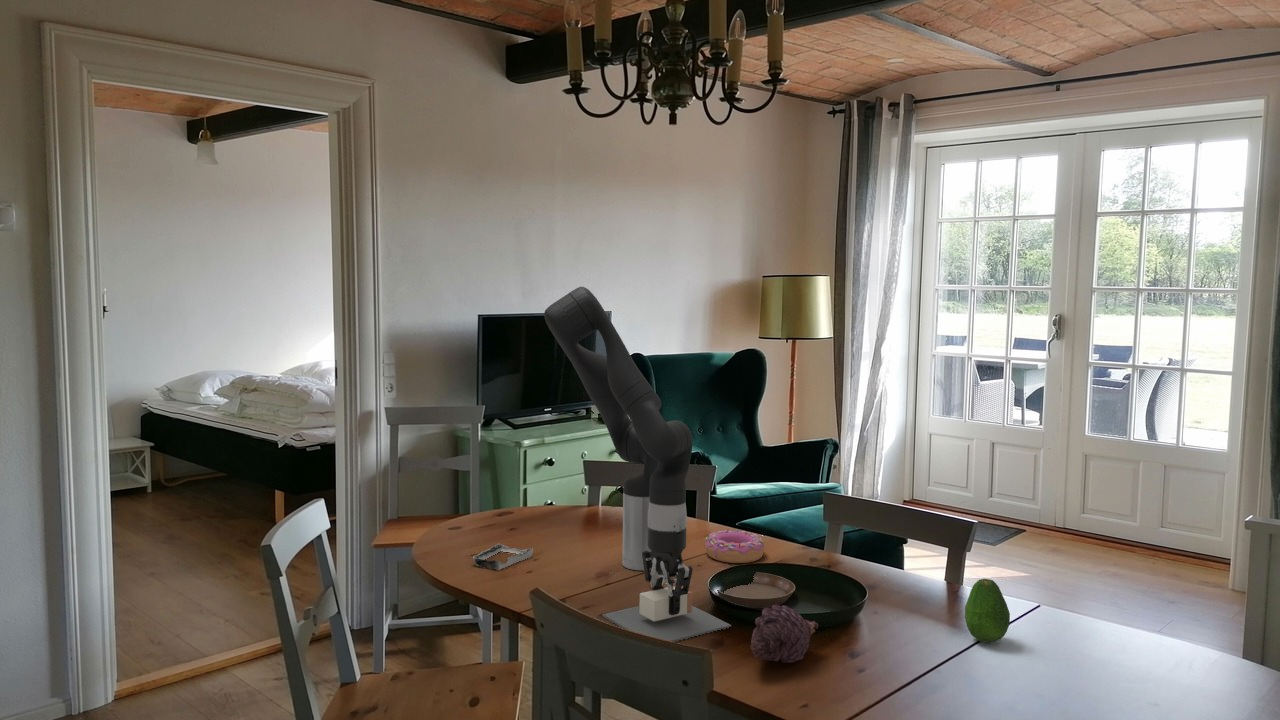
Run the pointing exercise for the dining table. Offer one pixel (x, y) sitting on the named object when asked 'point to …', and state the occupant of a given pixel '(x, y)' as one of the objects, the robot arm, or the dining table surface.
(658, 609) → the cream block
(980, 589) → the avocado
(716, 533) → the donut
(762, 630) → the purple artichoke
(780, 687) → the dining table surface
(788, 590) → the plant saucer
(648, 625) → the mat
